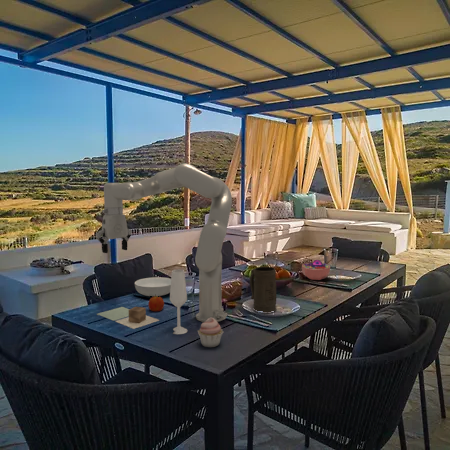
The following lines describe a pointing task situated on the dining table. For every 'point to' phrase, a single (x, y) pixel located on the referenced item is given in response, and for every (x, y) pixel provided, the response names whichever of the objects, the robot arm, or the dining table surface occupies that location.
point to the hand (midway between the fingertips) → (115, 251)
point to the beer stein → (263, 289)
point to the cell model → (316, 270)
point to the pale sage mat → (115, 313)
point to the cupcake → (210, 333)
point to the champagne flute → (178, 296)
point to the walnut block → (137, 314)
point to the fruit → (156, 304)
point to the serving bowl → (153, 286)
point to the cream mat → (136, 325)
